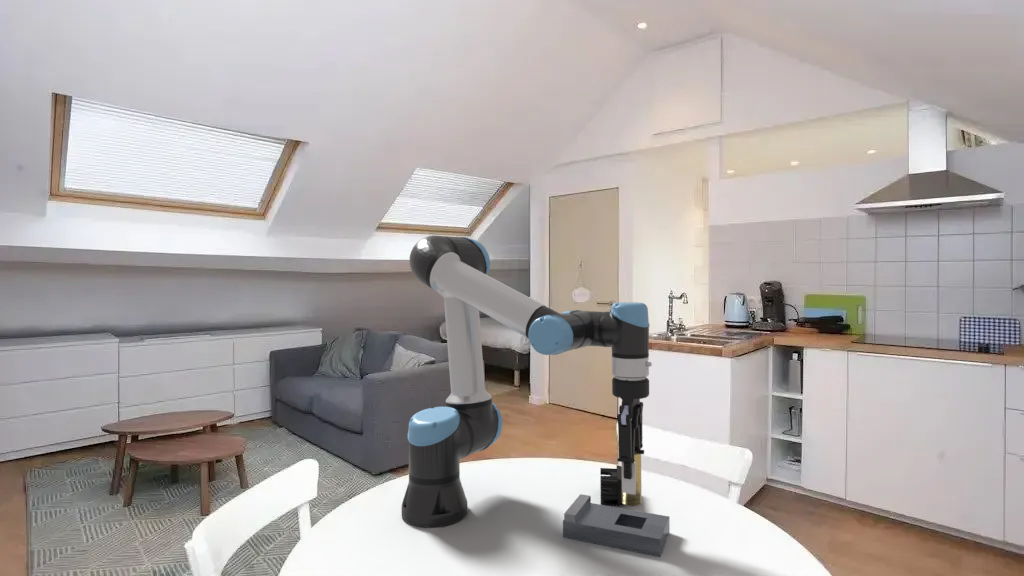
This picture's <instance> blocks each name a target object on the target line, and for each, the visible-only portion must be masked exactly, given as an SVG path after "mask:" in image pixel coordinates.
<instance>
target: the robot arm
mask: <svg viewBox="0 0 1024 576" xmlns="http://www.w3.org/2000/svg"><path fill="white" fill-rule="evenodd" d="M409 267H410V270H411V272H412V274H413V276H414V277H415V278H416V279H417V280H418V281H419V282H420V283H422V284H423V285H425V286H426V287H429V288H430V289H432V290H434V291H435V292H437V293H438V294H439V295H440V296H441V297H442V298H443V305H444V315H445V317H444V318H445V329H446V331H445V332H446V342H447V356H448V368H449V381H450V394H449V396H448V397H447V398H446V399H445V406H435V407H433V408H432V407H429V408H425V409H422V410H420V411H418V412H416V413H415V414H413V415H412V416H411V417H410V420H409V421H408V431H407V445H408V446H407V447H408V448H407V451H408V452H407V453H408V456H407V457H408V483H407V487H406V490H405V493H404V497H403V500H402V503H401V518H402V520H403V521H404V523H405V522H406V523H407V524H409V525H412V526H415V527H421V528H440V527H444V526H445V527H446V526H449V525H452V524H454V523H457V522H459V521H461V520H463V519H464V518H465V517H466V516H467V514H468V499H467V496H466V493H465V491H464V487H463V485H462V481H461V477H460V476H461V474H460V472H461V471H460V467H461V466H460V460H462V459H464V458H467V457H469V456H471V455H473V454H476V453H478V452H482V451H484V450H487V449H488V448H489V447H490V446H492V445H494V444H495V443H496V442H497V441H498V440H499V438H500V437H501V433H502V431H503V425H504V424H503V416H502V413H501V411H500V409H498V406H497V405H496V403H494V402H493V398H492V397H493V396H492V395H491V394H490V393H489V392H487V390H486V384H485V383H486V382H485V371H484V359H483V357H484V356H483V348H482V347H483V346H482V345H483V343H482V336H481V335H482V332H481V319H480V312H481V313H483V314H485V315H486V316H487V317H490V318H492V319H493V320H495V321H496V322H499V323H501V325H504V326H506V327H508V328H509V329H511V330H512V331H514V332H516V333H518V334H520V335H522V336H523V337H525V338H527V339H528V341H529V343H530V345H531V346H532V348H533V349H534V350H535V352H537V353H539V354H541V355H545V356H549V355H551V356H555V355H556V356H557V355H561V354H563V353H566V352H569V351H573V350H577V349H581V348H585V347H601V348H602V347H603V348H611V375H612V376H613V377H612V380H611V381H612V382H611V383H612V384H611V385H612V386H611V393H612V395H613V396H614V397H616V398H618V399H621V405H619V408H618V413H617V415H616V420H617V428H618V429H617V431H618V433H617V435H618V436H617V437H618V458H617V459H616V461H617V462H620V463H621V466H622V493H627V494H634V495H635V494H636V462H634V461H635V459H634V452H638V453H640V454H641V455H645V449H643V446H644V445H643V411H644V409H643V408H644V402H643V401H641V400H642V399H645V398H648V397H649V396H650V379H649V378H648V377H649V374H650V367H652V365H653V363H652V362H651V361H649V360H650V359H649V356H650V354H649V353H650V347H649V346H650V344H649V343H650V337H649V336H650V321H649V308H648V306H647V304H645V303H644V302H634V301H633V302H631V301H629V302H622V301H621V302H614V303H612V305H611V309H610V311H594V310H593V311H591V310H578V309H577V310H567V311H563V312H562V313H559V312H558V311H556V310H554V309H553V308H550V307H548V306H547V305H545V304H543V303H541V302H539V301H537V300H535V299H534V298H532V297H529V296H528V295H526V294H524V293H522V292H520V291H518V290H516V289H514V288H513V287H510V286H508V285H507V284H505V283H503V282H501V281H499V280H497V279H495V278H493V277H491V276H489V275H488V274H489V272H490V268H491V260H490V255H489V253H488V251H487V249H486V247H485V246H484V245H483V244H482V243H481V242H479V241H478V240H476V239H473V238H469V237H465V236H447V235H436V234H434V235H428V236H425V237H422V239H420V240H418V241H417V242H416V243H415V244H414V246H413V247H412V249H411V251H410V253H409Z"/></svg>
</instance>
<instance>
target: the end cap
mask: <svg viewBox="0 0 1024 576" xmlns="http://www.w3.org/2000/svg"><path fill="white" fill-rule="evenodd" d="M599 476H600V479H599V481H600V484H599V485H600V505H606V506H611V507H621V506H624V504H623V503H622V465H616V468H608V467H605V468H604V467H600V475H599Z"/></svg>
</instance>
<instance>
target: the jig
mask: <svg viewBox="0 0 1024 576" xmlns="http://www.w3.org/2000/svg"><path fill="white" fill-rule="evenodd" d="M591 500H592V498H591V495H586V494H582V493H581V494H578V496H577V498H576V499H575V500H573V503H572V504H570V505H569V507H568V508H567V509H566V511H565V512H564V513H563V515H564V516H563V517H564V518H563V520H562V538H564V539H570V540H575V541H580V542H585V543H590V544H595V545H600V546H604V547H610V548H614V549H619V550H624V551H629V552H634V553H639V554H642V555H647V556H648V555H650V556H654V557H658V558H661V556H662V553H663V551H664V548H665V546H666V543H667V541H668V538H669V535H670V516H669V515H662V514H657V513H650V512H644V511H639V510H634V509H628V508H622V507H618V506H606V505H601V503H600V504H599V503H592V502H591Z"/></svg>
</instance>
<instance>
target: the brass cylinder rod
mask: <svg viewBox="0 0 1024 576" xmlns="http://www.w3.org/2000/svg"><path fill="white" fill-rule="evenodd" d="M634 459H635V461H634V462H636V494H635V495H634V494H627V493H622V503H623V505H625V506H629V507H637V506H638V507H639V506H640V505H642V503H643V502H642V454H640V453H638V452H634Z"/></svg>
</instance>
